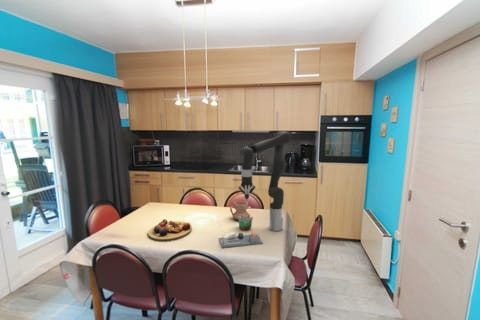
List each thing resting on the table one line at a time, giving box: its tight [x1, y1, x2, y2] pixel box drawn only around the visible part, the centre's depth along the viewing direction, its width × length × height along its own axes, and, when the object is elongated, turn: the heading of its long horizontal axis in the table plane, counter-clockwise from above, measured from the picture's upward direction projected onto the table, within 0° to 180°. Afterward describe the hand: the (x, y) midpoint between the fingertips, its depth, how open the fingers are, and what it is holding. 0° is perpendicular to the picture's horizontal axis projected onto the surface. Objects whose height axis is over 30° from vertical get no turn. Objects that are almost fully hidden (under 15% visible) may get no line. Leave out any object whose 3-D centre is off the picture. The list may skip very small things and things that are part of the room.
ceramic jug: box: [229, 200, 251, 221], centre depth 201 cm, size 18×14×14 cm
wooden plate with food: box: [147, 218, 193, 242], centre depth 178 cm, size 32×32×8 cm
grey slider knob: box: [222, 234, 227, 244], centre depth 157 cm, size 2×4×5 cm, turn 13°
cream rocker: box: [226, 230, 237, 240], centre depth 163 cm, size 8×4×2 cm, turn 102°
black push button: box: [237, 232, 244, 239], centre depth 165 cm, size 4×4×2 cm
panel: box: [218, 233, 263, 249], centre depth 162 cm, size 28×13×4 cm, turn 103°
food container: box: [238, 215, 254, 231], centre depth 181 cm, size 12×6×10 cm, turn 66°
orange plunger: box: [250, 230, 258, 237], centre depth 161 cm, size 4×4×5 cm
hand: (246, 198), depth 169 cm, fingers closed
